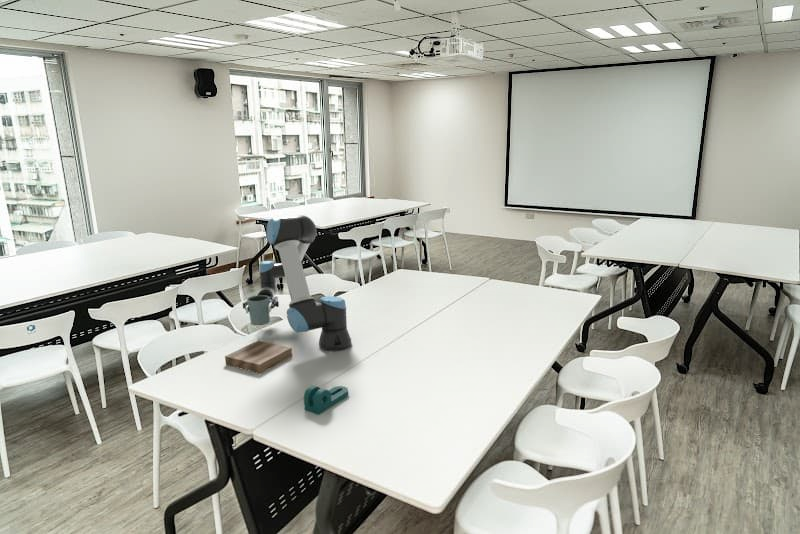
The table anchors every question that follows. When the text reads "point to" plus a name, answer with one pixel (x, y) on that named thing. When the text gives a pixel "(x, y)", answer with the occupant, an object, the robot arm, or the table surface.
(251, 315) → the blue green cup
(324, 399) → the bracket
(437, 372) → the table surface
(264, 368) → the walnut riser
